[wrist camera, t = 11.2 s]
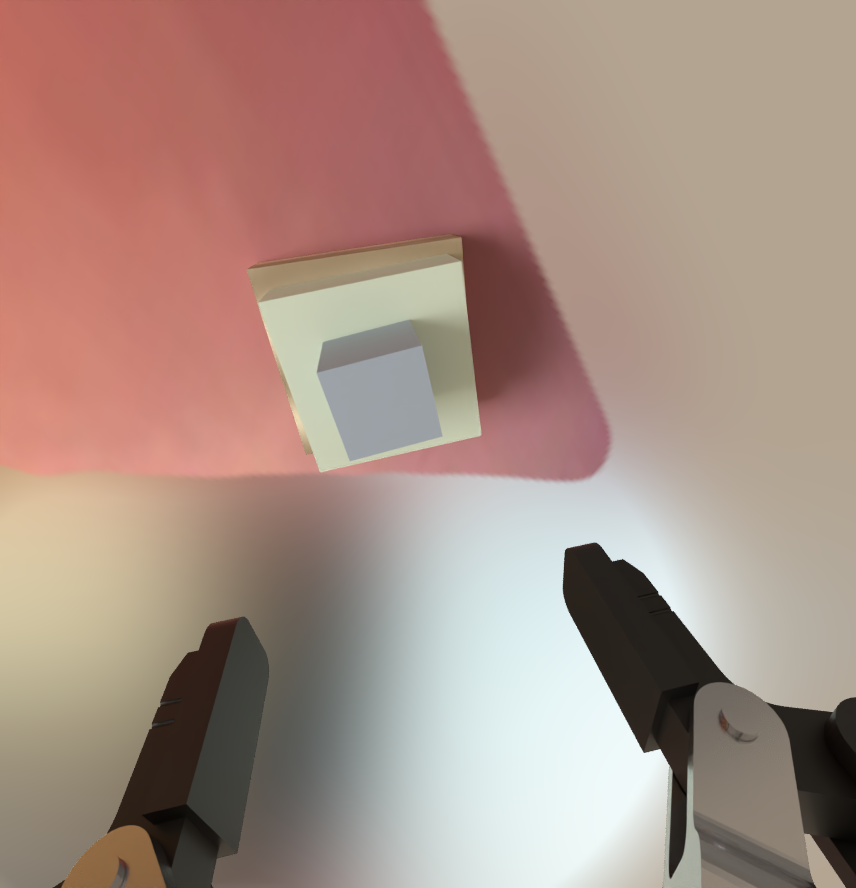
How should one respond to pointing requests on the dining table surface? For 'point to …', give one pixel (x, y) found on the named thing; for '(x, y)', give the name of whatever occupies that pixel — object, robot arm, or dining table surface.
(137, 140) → the dining table surface
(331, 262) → the base block
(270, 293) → the top block
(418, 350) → the slate cube
